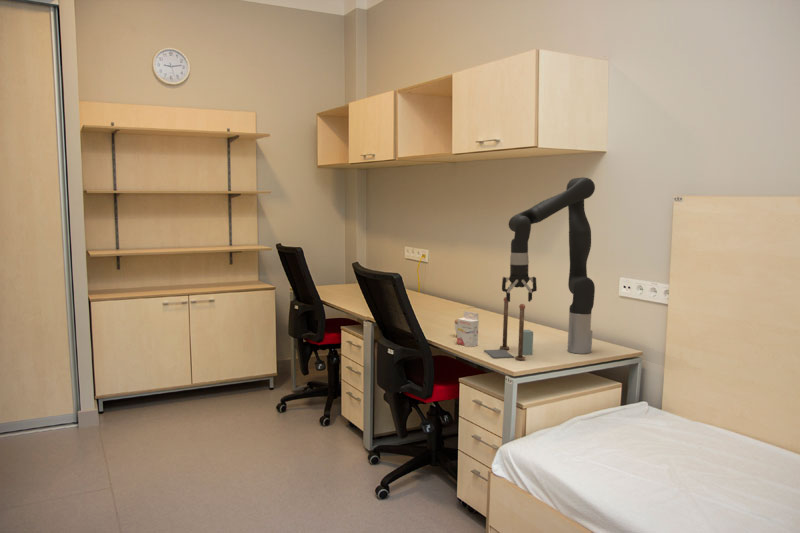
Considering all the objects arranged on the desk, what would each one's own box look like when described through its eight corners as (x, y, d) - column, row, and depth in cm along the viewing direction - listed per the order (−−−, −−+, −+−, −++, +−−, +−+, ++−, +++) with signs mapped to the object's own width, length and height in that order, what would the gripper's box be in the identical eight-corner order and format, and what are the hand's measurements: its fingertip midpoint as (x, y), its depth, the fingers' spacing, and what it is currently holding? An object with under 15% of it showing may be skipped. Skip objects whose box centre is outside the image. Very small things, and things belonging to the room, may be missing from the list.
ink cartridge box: (456, 344, 273) (457, 312, 271) (462, 342, 277) (463, 310, 275) (471, 347, 267) (472, 314, 266) (478, 345, 271) (479, 313, 269)
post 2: (522, 358, 249) (525, 303, 247) (526, 360, 246) (528, 304, 243) (513, 358, 249) (515, 303, 246) (517, 361, 245) (519, 304, 242)
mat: (503, 350, 262) (503, 349, 261) (513, 357, 250) (514, 356, 250) (483, 351, 260) (483, 350, 260) (493, 358, 248) (493, 357, 248)
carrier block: (528, 352, 260) (529, 329, 259) (532, 354, 255) (533, 331, 254) (518, 352, 259) (519, 329, 258) (522, 355, 254) (523, 332, 253)
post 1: (507, 347, 267) (509, 296, 265) (510, 350, 263) (512, 297, 261) (498, 348, 266) (500, 296, 264) (501, 350, 262) (503, 297, 260)
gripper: (534, 262, 255) (534, 299, 257) (501, 262, 256) (501, 300, 258) (538, 264, 248) (537, 302, 250) (503, 264, 249) (503, 303, 251)
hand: (519, 301), depth 254 cm, fingers open, 8 cm apart
